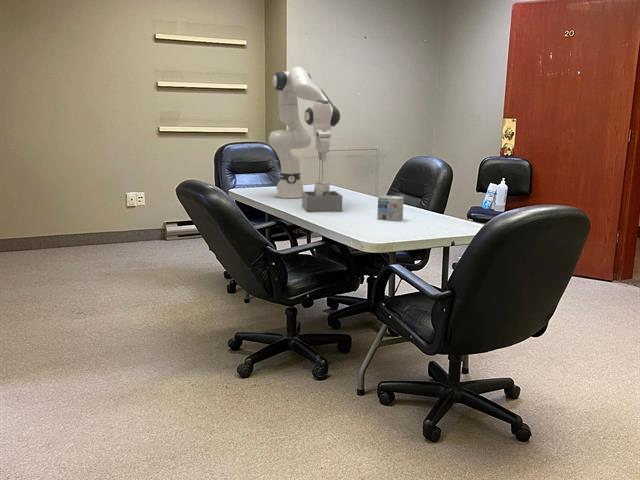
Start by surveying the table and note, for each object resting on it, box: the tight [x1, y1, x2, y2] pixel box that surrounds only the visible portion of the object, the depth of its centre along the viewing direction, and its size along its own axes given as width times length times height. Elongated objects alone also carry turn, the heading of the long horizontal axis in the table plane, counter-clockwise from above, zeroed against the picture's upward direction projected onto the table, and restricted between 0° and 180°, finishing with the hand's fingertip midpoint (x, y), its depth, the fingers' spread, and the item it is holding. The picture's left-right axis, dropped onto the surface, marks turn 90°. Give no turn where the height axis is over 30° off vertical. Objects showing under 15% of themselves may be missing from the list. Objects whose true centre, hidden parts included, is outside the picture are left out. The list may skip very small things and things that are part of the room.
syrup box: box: [313, 180, 331, 196], centre depth 305 cm, size 6×6×14 cm
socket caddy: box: [301, 190, 343, 213], centre depth 306 cm, size 18×18×8 cm
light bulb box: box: [376, 194, 405, 222], centre depth 278 cm, size 11×7×11 cm, turn 62°
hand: (321, 160), depth 302 cm, fingers open, 8 cm apart
